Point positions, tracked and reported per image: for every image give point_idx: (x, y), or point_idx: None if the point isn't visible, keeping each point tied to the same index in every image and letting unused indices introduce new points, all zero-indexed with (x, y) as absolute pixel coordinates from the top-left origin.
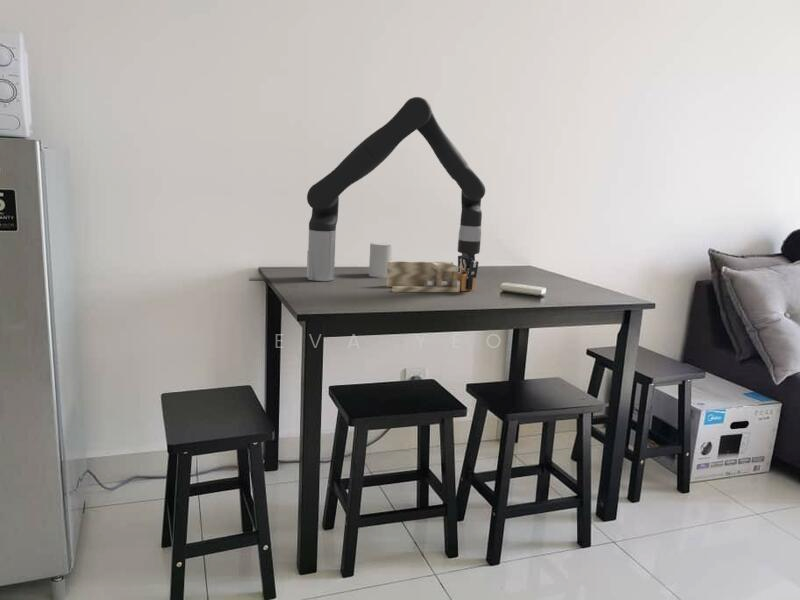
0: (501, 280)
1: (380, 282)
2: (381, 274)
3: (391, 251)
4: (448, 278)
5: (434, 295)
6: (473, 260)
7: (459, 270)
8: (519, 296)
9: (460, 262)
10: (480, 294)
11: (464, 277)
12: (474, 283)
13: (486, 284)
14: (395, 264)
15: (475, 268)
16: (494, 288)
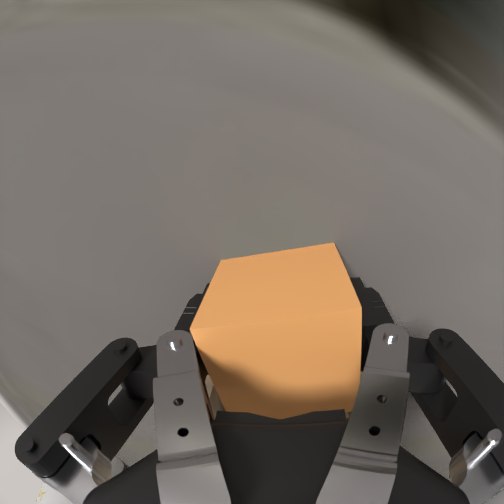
0: (7, 12)
1: None
2: (118, 468)
3: (69, 501)
4: (214, 411)
5: (407, 430)
6: (485, 501)
7: (152, 398)
8: (480, 10)
9: (105, 448)
10: (453, 242)
11: (356, 391)
12: (346, 272)
13: (83, 81)
14: None
15: (501, 410)
16: (228, 38)
